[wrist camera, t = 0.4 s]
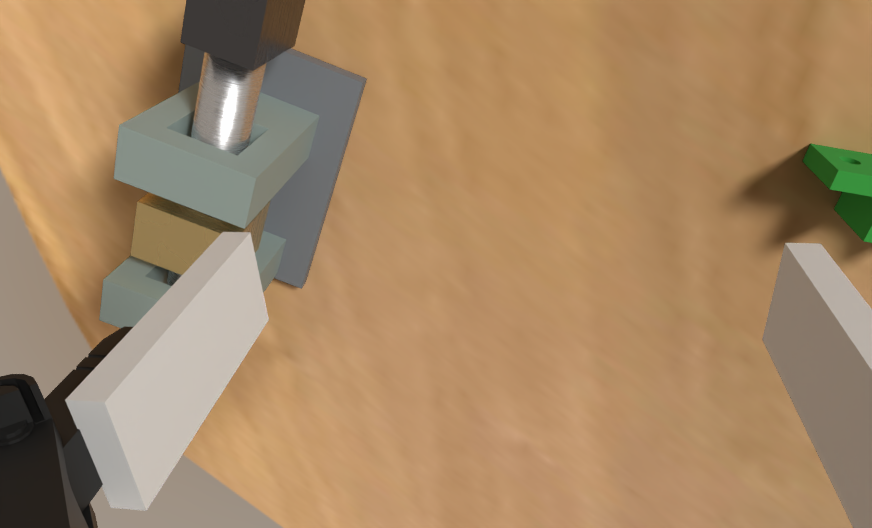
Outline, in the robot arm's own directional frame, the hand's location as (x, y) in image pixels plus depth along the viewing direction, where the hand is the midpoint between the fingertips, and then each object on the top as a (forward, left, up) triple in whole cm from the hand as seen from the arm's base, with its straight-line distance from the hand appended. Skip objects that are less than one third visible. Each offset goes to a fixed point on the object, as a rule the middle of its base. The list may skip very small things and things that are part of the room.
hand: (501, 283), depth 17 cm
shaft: (+2, -17, -22) cm, 28 cm away
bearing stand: (+4, -19, -26) cm, 32 cm away
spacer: (+5, -19, -21) cm, 29 cm away
